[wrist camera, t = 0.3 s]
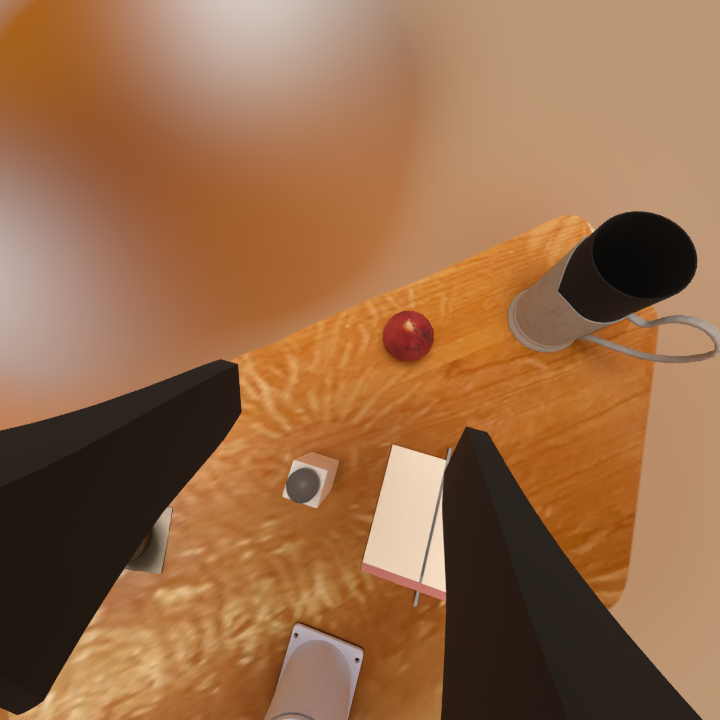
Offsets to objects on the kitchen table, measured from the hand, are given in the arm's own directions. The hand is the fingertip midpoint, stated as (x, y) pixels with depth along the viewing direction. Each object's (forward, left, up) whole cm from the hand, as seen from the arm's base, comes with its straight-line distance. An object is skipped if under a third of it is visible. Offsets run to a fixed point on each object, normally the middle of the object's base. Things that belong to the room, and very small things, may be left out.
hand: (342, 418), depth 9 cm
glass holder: (+16, -19, -29) cm, 38 cm away
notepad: (-9, -9, -28) cm, 31 cm away
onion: (+10, -1, -29) cm, 30 cm away
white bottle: (-8, +5, -28) cm, 30 cm away
